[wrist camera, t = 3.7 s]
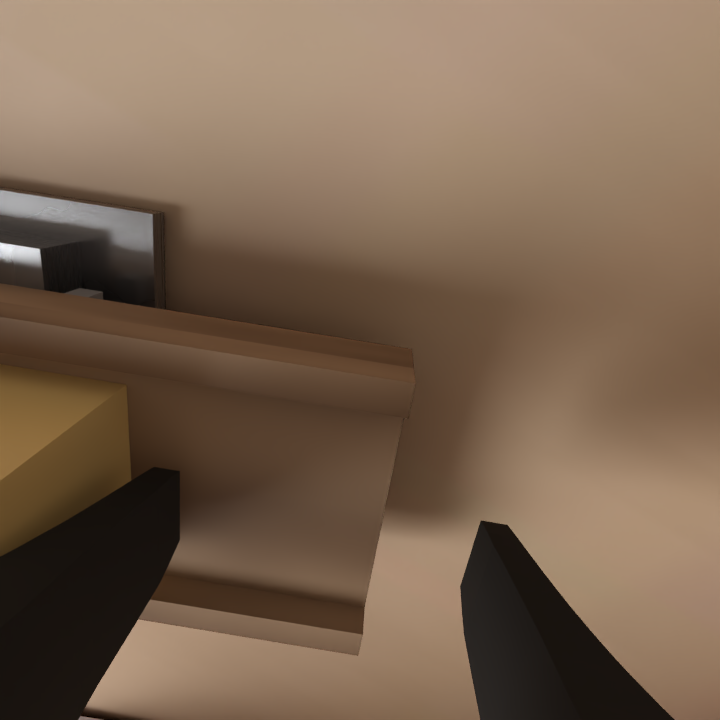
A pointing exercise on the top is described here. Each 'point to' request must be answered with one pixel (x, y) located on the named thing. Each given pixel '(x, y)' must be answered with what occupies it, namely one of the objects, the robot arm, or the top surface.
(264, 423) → the beam
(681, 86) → the top surface
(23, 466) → the block
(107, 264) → the pivot stand
